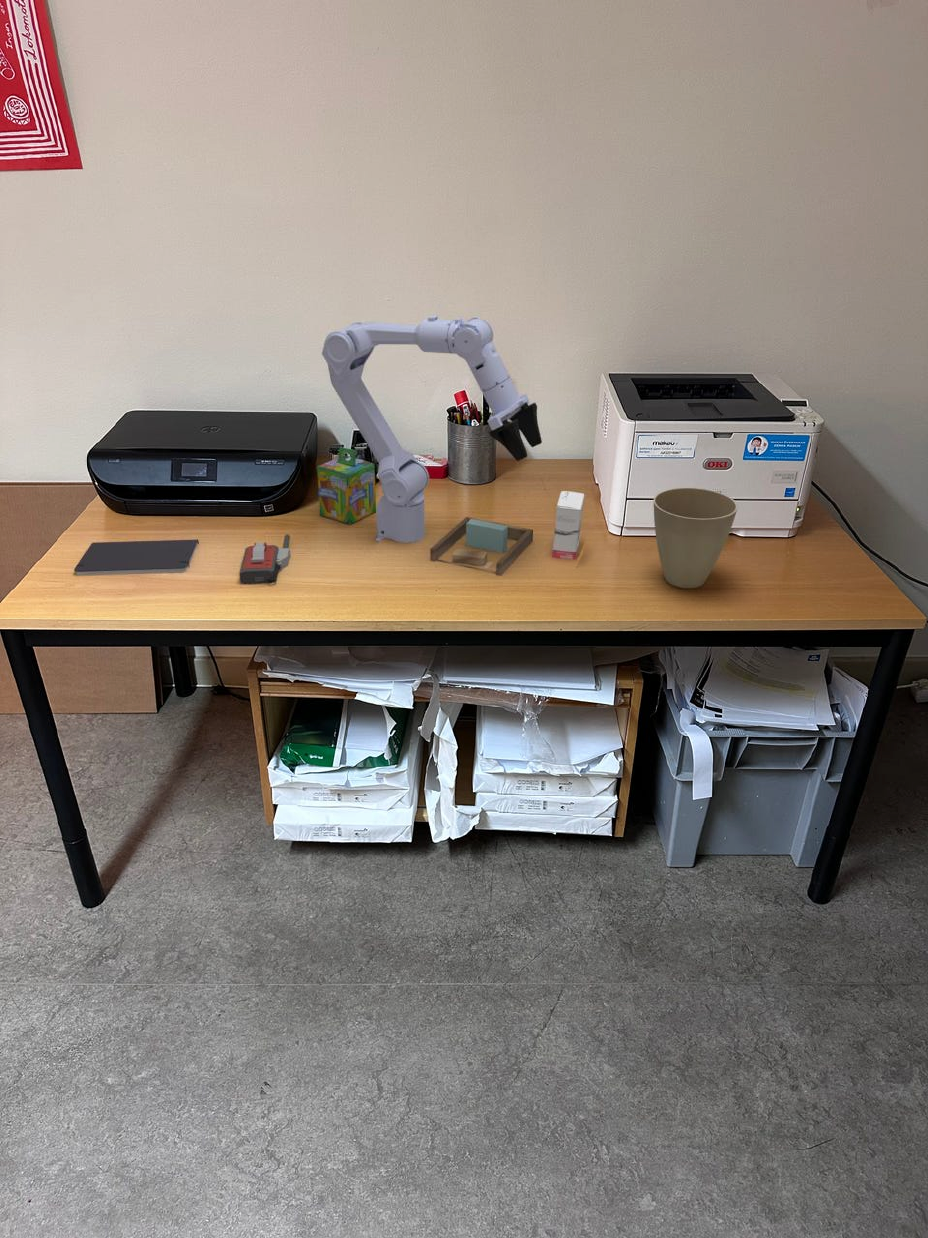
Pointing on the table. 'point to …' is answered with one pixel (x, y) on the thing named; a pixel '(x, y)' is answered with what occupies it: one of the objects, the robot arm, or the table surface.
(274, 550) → the walkie-talkie
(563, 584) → the table surface
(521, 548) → the rack
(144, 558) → the notebook
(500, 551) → the teal rectangular block
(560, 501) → the ink box
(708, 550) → the plant pot
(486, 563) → the offcut lower
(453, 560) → the offcut upper
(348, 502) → the chalk box
